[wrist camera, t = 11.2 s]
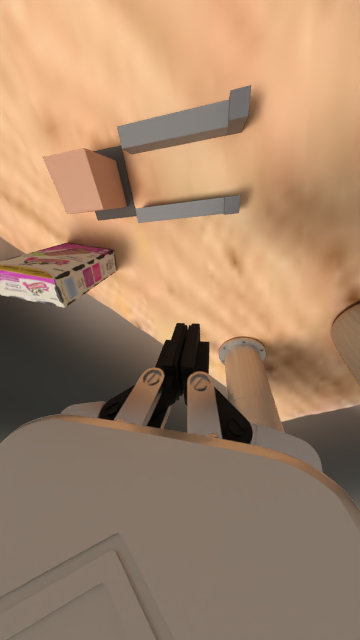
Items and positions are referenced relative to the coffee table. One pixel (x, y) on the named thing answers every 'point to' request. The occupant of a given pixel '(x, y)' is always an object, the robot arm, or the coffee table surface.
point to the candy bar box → (56, 273)
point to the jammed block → (86, 181)
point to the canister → (348, 339)
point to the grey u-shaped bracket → (186, 130)
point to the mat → (127, 211)
